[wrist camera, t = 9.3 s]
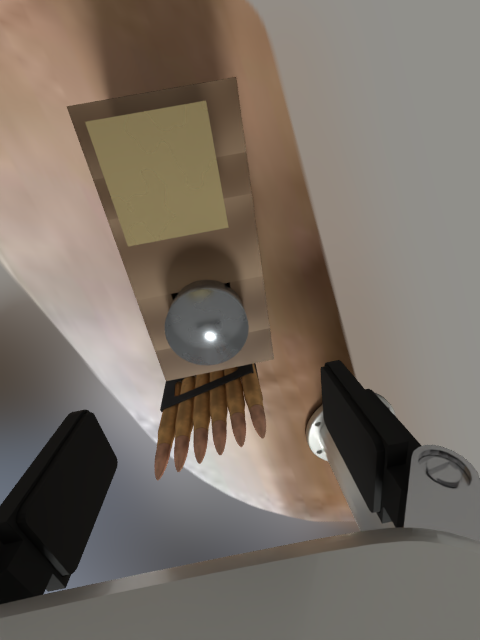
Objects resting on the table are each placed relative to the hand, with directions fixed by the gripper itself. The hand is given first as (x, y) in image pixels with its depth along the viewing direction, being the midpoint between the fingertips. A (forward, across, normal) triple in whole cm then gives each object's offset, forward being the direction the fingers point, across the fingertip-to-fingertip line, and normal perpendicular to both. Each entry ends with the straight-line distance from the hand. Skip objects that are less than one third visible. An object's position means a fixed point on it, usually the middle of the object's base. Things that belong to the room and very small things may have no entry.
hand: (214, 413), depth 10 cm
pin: (+16, 0, -1) cm, 16 cm away
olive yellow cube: (+10, 0, -9) cm, 13 cm away
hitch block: (+17, +1, -5) cm, 18 cm away
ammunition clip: (+18, +3, +9) cm, 20 cm away
